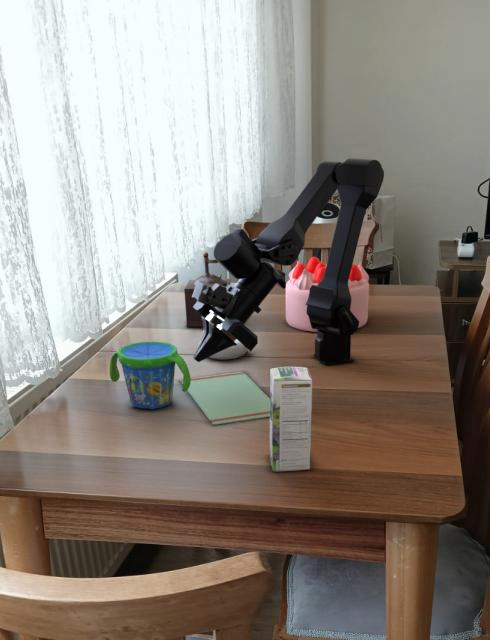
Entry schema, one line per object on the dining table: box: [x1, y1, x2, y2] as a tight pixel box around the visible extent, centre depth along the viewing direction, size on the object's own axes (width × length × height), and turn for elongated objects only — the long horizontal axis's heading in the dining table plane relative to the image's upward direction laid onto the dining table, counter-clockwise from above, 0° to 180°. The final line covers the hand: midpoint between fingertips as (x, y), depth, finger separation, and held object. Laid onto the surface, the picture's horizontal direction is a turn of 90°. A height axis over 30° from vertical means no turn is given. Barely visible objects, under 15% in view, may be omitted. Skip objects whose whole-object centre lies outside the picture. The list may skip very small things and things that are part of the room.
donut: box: [209, 339, 249, 361], centre depth 166 cm, size 10×3×10 cm
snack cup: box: [109, 340, 192, 410], centre depth 140 cm, size 16×10×10 cm
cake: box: [285, 256, 370, 333], centre depth 184 cm, size 20×20×14 cm
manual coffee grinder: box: [183, 252, 232, 329], centre depth 188 cm, size 16×11×18 cm
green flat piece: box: [179, 370, 270, 426], centre depth 144 cm, size 13×24×1 cm, turn 18°
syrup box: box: [269, 366, 313, 473], centre depth 115 cm, size 6×6×14 cm
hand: (195, 360), depth 142 cm, fingers closed
